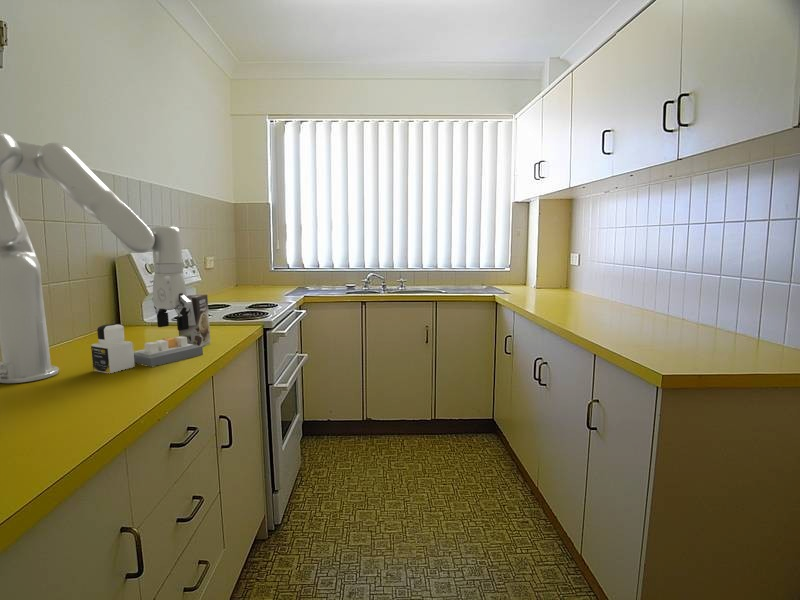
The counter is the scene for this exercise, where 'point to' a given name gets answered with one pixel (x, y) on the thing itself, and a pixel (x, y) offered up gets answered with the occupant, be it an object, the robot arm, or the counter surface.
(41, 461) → the counter surface
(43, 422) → the counter surface
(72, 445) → the counter surface
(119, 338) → the medicine bottle
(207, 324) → the coffee box
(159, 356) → the breaker panel
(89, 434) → the counter surface
